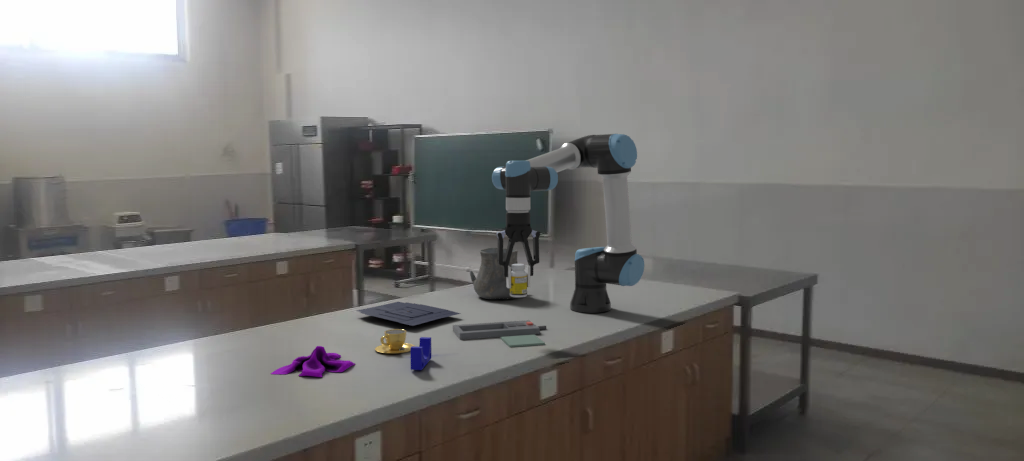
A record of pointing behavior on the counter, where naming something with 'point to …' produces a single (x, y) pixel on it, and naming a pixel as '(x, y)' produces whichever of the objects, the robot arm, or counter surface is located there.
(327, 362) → the cloth
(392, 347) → the cup
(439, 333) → the counter surface
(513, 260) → the vessel
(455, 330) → the rectangular frame
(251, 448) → the counter surface
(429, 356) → the cable clip
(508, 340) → the rubber mat
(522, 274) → the supplement bottle
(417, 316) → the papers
